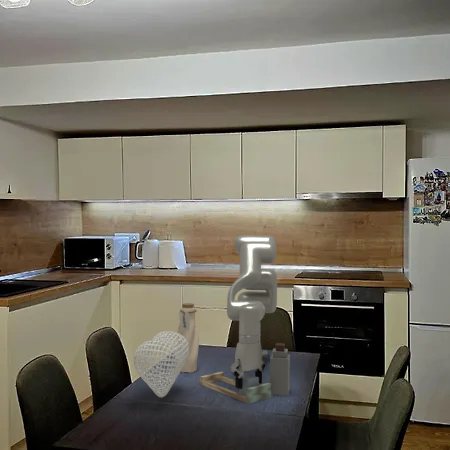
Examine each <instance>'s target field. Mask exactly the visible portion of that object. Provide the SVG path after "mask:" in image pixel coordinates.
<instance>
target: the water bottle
mask: <svg viewBox="0 0 450 450" xmlns="http://www.w3.org/2000/svg"><path fill="white" fill-rule="evenodd" d="M181 305H182V307H181V309H180V310H179V313H178V314H179V324H178V327H177V333H179V334H181V335H182V336H183V337H184V338H185V339H186V340H187V342H188V344H189V355H188V358H187V360H186V359H185V360H186V363H185V364H184V366H183V368H182V370H181V371H180V373H184V372H189V374H190V373H194V371H195V372H196V371H197V361H198V356H199V350H200V349H199V343H200V339H199V338H200V337H199V331H198V328H197V325H196V313H197V309H196V308H195V304H194V303H191V302H189V303H188V302H186V303H182V304H181ZM177 338H178V339H179V337H178V336H177ZM181 339H182V338H181ZM183 341H184V340H183ZM187 342H186V343H187ZM178 343H179V344H180V342H179V341H178ZM181 343H182V341H181ZM183 346H184V343H183ZM181 348H182V346H181ZM186 348H187V346H186ZM179 349H180V347H179ZM179 349H178V350H179ZM184 349H185V348H184ZM184 349H183V351H184ZM180 350H181V349H180ZM185 351H186V349H185ZM183 353H184V352H183ZM187 353H188V351H187ZM181 354H182V352H181ZM181 354H180V356H181ZM184 357H185V356H184ZM182 359H183V357H182ZM180 367H181V366H180Z"/></svg>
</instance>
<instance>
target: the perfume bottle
mask: <svg viewBox="0 0 450 450" xmlns="http://www.w3.org/2000/svg"><path fill="white" fill-rule="evenodd" d="M274 345H275V348H273V349H272V350H271V351H272V352H271V355H270V357H269V383H271V396H273V395H274V396H283V397H284V396H285V397H289V394H290V383H291V382H290V381H291V379H290V377H291V376H290V374H291V373H290V371H291V367H290V366H291V355H290V354H288V352H289V351H288V350H289V349H288V348H285V345H286V343H284V342H283V343H281V342H276V343H275V344H274Z"/></svg>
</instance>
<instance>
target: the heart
mask: <svg viewBox="0 0 450 450" xmlns="http://www.w3.org/2000/svg"><path fill="white" fill-rule="evenodd" d="M178 337H179V339H178ZM181 338H182V339H181ZM183 340H184V341H183ZM178 341H179V342H180V344H179V343H178ZM181 341H182V343H181ZM186 342H187V340H186V339H185V338H184V337H183V336H182V335H181V334H179V333H178V332H176V331H172V330H165V331H161V332H159V333H156V335H154V336H153V337H152V338H151V339H149V340H145V342H142V343H141V344H140V345H139V346H138V347H137V348H136V349H135V352H134V354H133V364H134V369H135V370H136V373H137V374H138V375H139V377H140V378H141V379H142V380H143V381H144V382H145V383H146V384H147V386H148V387H149V388H150V389H151V391H153V393H154V394H155V395H156V396H157V397H158V398H165V396H167V394H168V393H169V392H170V390H171V388H172V387H173V385H174V383H175V382H176V380H177V378H178V376H179V375H180V373H181V372H180V371H181V370H182V368H183V366H184V364H185V363H186V360H187V358H188V355H189V344H188V342H187V343H186ZM183 343H184V346H183ZM181 346H182V348H181ZM186 346H187V348H186ZM179 347H180V349H181V350H180V349H179ZM184 348H185V349H186V351H185V349H184ZM183 349H184V351H183ZM187 351H188V353H187ZM169 352H170V353H169ZM181 352H182V354H181ZM183 352H184V353H183ZM180 354H181V356H180ZM184 356H185V357H184ZM171 357H172V358H171ZM182 357H183V359H182ZM185 359H186V360H185ZM167 362H168V363H167ZM170 362H171V363H170ZM180 366H181V367H180Z"/></svg>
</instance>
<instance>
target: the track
mask: <svg viewBox="0 0 450 450" xmlns="http://www.w3.org/2000/svg"><path fill="white" fill-rule="evenodd" d="M217 382H224V383H226V384H228V385H232V386H235V379H232V378H230V377H227V376H226V375H225V373H224V372H223V371H218V372H215V373H209V374H205V375H201V376H199V385H200V386H203V387H205V388H207V389H210V390H212V391H214V392H215V391H216V392H218V393H221V394H223V395H226V396H228V397H230V398H233V399H235V400H238V401H241V402H244V403H246V404H248V405H249V404H253V403H256V402H260V401H263V400H267V399H270V398H272V395H271V383H270V382H267V383H262V384H259V385H258V386H254V387H250V388H246V396H244V395H241V394H239V392H235V391H233V390H231V389H228V388H226V387H222V386H219V385H217V384H215V383H217Z"/></svg>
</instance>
